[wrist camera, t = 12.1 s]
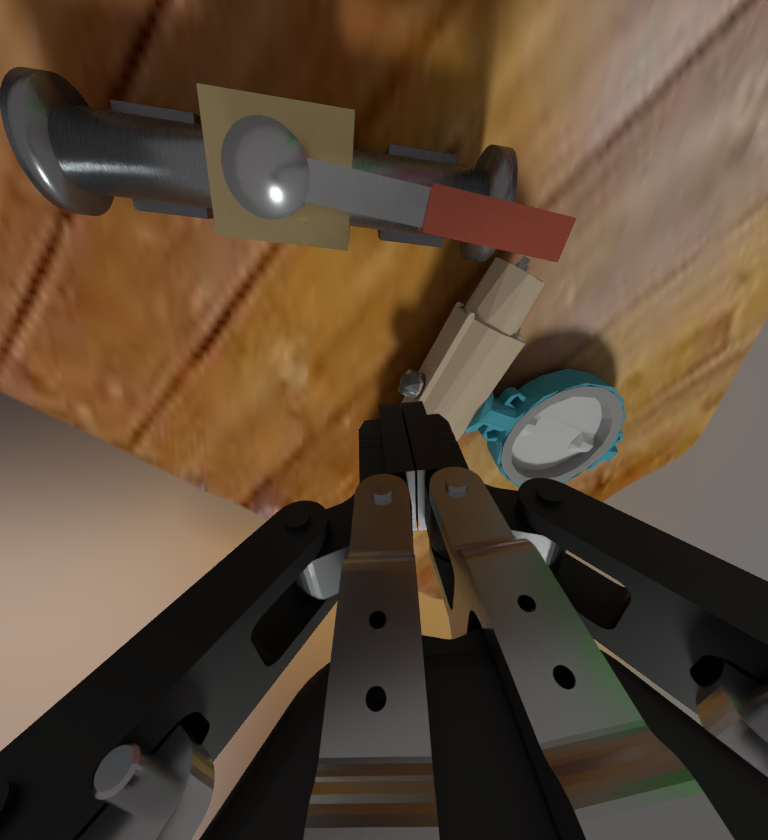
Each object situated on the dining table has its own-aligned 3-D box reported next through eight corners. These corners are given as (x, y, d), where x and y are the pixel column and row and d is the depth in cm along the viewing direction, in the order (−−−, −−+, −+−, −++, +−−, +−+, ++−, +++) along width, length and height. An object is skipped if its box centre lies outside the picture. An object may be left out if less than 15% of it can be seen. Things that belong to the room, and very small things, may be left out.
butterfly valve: (666, 347, 40) (463, 224, 28) (723, 375, 34) (500, 235, 23) (525, 500, 52) (343, 457, 41) (550, 538, 47) (349, 500, 35)
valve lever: (235, 209, 18) (223, 210, 17) (232, 113, 16) (218, 103, 15) (535, 273, 21) (550, 279, 20) (564, 198, 19) (584, 198, 18)
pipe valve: (116, 212, 27) (4, 215, 18) (84, 91, 23) (-73, 25, 14) (463, 254, 30) (507, 273, 22) (485, 156, 26) (547, 133, 18)
